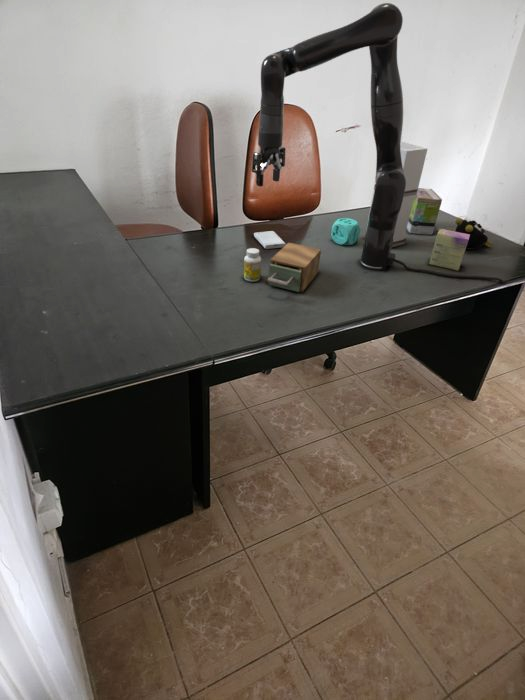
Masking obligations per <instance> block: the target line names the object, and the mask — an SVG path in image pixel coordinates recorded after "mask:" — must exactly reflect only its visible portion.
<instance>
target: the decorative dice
mask: <svg viewBox="0 0 525 700" xmlns="http://www.w3.org/2000/svg"><path fill="white" fill-rule="evenodd" d="M360 233H361V227H360V224H359V222H358V221H357V220H355V219H353V218H349V217H341V218H338V219H336V220H335V221H334V222H333V224H332V227H331V230H330V235H331V236H330V237H331V238H332V241H333V242H334V243H335V244H337V245H340V246H352V245H354V244H355V243H356V242H357V240H358V239H359V236H360Z"/></svg>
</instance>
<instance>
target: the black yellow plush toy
mask: <svg viewBox="0 0 525 700" xmlns="http://www.w3.org/2000/svg"><path fill="white" fill-rule="evenodd" d="M455 224H456V225H457V226H456V227H455V230H454V231H455V232H460V233H465V234H470V237H469V240H468V243H467V246H466V250H475V249H479V248H481V247H483V246H484V245H486V246H487V247H489V248H491V247H492V246H493V243H492V242H491V241H489V237H488V236H487V235H486V231H485V229H484V228H483V226H482V225H481V224H480V223H477V221H476V220H473V219H472V220H469V221H468V220H466V219H463V218H461V217H458V218H457V219H456V220H455Z"/></svg>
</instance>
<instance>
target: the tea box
mask: <svg viewBox="0 0 525 700" xmlns="http://www.w3.org/2000/svg"><path fill="white" fill-rule="evenodd" d="M442 202H443V199H442V198H441V196H440V195H438V194H437V193H436V192H435V190H433V189H432V188H425V187H418V191H417V195H416V198H415V199H413V204H412V208H411V212H410V216H409V220H408V225H407V229H406V231H407V232H408V233H409V234H415V235H433V234H434V230H435V226H436V224H437V223H436V222H437V219H438V217H439V212H440V209H441V205H442Z"/></svg>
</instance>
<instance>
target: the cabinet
mask: <svg viewBox="0 0 525 700" xmlns="http://www.w3.org/2000/svg"><path fill="white" fill-rule="evenodd" d="M321 252H322V249H320V248H316V247H311V246H307V245H302V244H296V243H292V242H287V243H286V245H285V246H284V247H281V249H280V250H279V251H278V252H277V253H276V254H275V255H273V257H271V258H270V261H269V262H270V263H269V265H270V264H274V263H280V264H284V265H288V266H293V267H297V268H301V269H303V273H302V282H301V286H300V291H299V292H301V293H303V292H304V291H305V289H307V287H308V286H309V285H310V284H311V282H312V281H313V280H314V278H315V277H316V276H317V275H318V274H319V268H320V267H319V266H320V260H321Z"/></svg>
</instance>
